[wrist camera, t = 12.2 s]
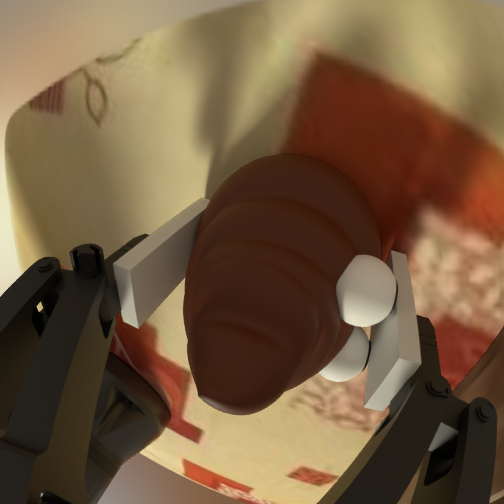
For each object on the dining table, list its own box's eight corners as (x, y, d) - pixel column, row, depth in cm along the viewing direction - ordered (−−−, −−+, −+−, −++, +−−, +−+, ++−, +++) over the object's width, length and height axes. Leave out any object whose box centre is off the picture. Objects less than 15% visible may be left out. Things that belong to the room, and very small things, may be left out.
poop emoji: (217, 138, 13) (44, 215, 6) (409, 174, 11) (479, 328, 4) (214, 307, 18) (127, 431, 11) (352, 345, 16) (320, 501, 9)
